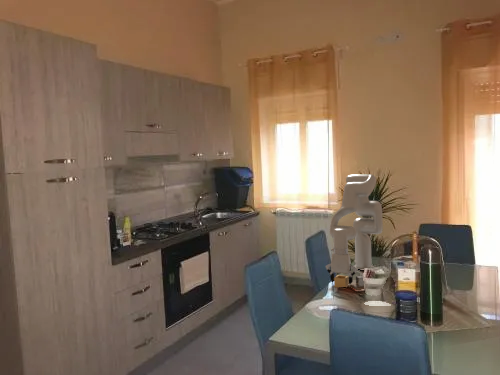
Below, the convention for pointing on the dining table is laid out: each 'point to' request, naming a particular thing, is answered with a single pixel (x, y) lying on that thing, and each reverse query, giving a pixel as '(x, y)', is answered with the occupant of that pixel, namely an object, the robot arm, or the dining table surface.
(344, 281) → the orange cube
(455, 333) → the dining table surface
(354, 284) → the base plate
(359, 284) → the post
